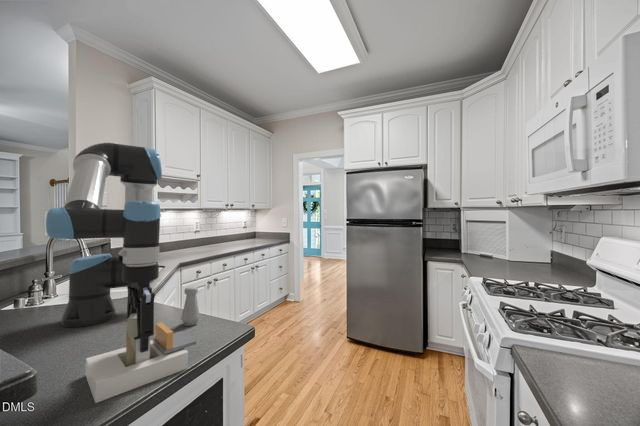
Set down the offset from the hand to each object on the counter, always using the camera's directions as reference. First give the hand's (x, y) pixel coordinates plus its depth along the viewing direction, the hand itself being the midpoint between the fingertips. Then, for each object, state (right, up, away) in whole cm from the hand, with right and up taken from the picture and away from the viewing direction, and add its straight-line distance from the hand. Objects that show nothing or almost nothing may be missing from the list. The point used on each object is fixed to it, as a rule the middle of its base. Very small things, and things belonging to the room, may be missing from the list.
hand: (138, 358), depth 66 cm
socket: (0, -3, 0) cm, 3 cm away
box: (0, -1, 0) cm, 1 cm away
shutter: (+6, +1, +6) cm, 8 cm away
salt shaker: (-2, -4, +30) cm, 31 cm away
